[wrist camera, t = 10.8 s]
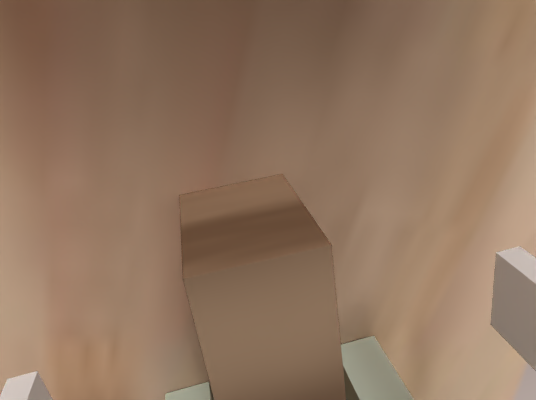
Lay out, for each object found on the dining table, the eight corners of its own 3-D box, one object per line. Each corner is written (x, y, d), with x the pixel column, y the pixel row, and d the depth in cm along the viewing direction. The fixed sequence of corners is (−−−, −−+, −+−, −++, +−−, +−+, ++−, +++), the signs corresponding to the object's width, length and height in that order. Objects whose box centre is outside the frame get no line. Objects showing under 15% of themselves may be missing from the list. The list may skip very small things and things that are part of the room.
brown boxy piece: (179, 193, 17) (183, 290, 11) (281, 172, 17) (337, 254, 12) (233, 417, 22) (256, 566, 16) (312, 396, 22) (362, 533, 16)
